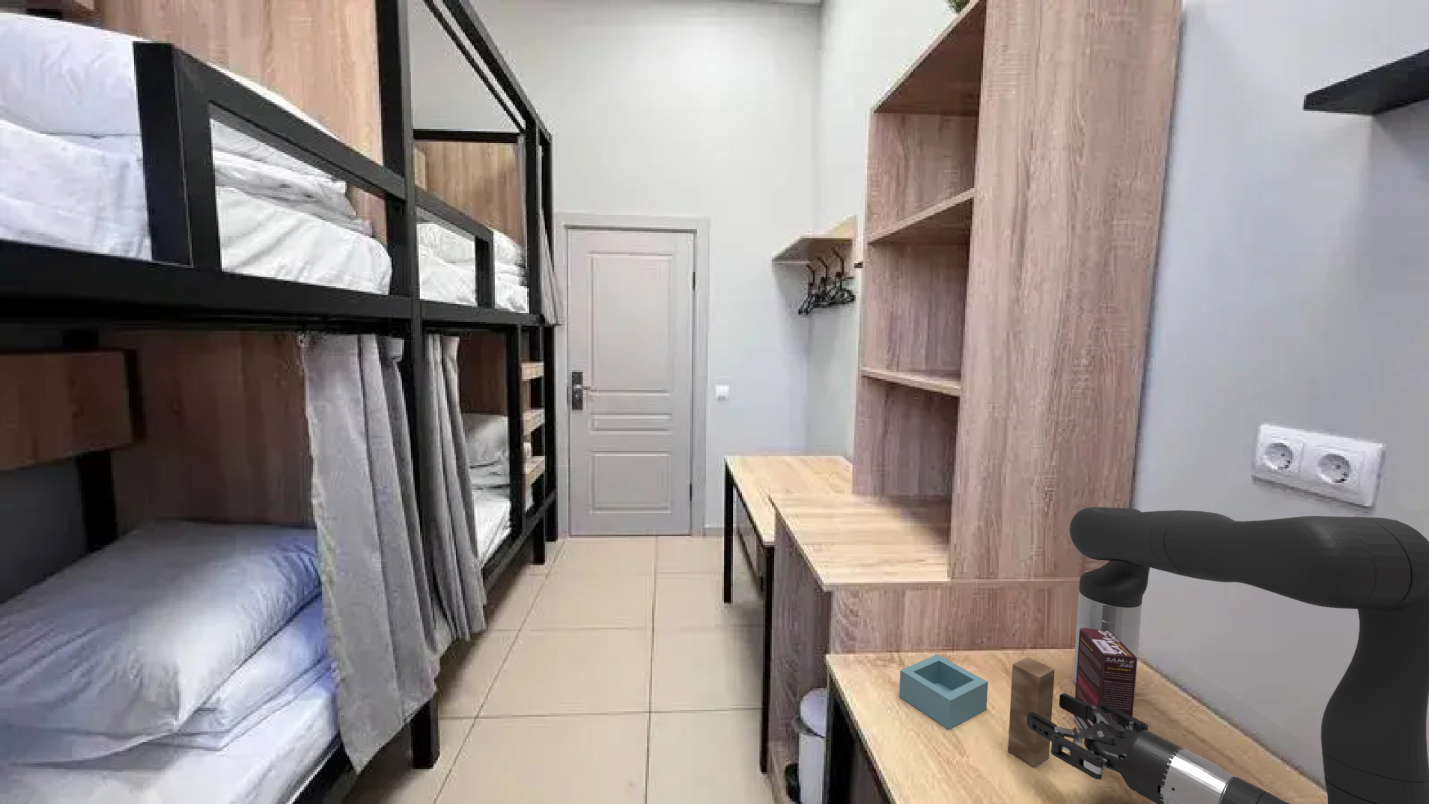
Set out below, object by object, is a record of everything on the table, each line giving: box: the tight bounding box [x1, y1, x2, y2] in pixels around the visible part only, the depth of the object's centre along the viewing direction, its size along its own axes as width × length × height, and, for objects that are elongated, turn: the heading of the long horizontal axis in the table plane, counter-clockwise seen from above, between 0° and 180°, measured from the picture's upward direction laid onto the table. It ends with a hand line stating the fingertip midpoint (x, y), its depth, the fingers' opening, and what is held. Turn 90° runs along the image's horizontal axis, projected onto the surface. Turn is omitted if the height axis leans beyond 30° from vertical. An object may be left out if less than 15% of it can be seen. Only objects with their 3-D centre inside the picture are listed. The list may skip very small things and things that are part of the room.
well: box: [898, 653, 989, 731], centre depth 97 cm, size 10×10×5 cm
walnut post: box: [1007, 656, 1055, 769], centre depth 84 cm, size 4×4×14 cm
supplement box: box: [1073, 628, 1138, 729], centre depth 88 cm, size 9×5×16 cm, turn 168°
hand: (1044, 708), depth 82 cm, fingers open, 8 cm apart
